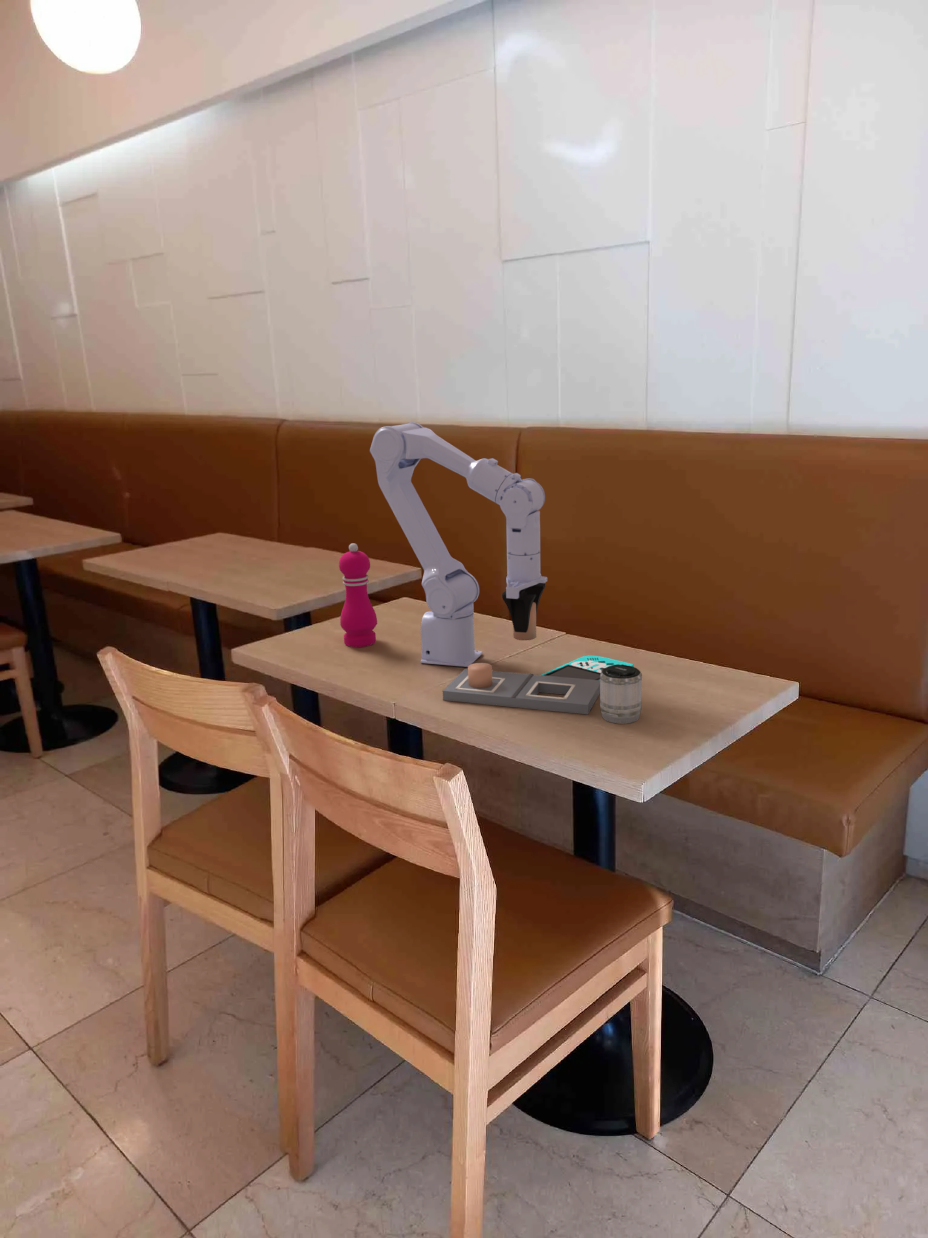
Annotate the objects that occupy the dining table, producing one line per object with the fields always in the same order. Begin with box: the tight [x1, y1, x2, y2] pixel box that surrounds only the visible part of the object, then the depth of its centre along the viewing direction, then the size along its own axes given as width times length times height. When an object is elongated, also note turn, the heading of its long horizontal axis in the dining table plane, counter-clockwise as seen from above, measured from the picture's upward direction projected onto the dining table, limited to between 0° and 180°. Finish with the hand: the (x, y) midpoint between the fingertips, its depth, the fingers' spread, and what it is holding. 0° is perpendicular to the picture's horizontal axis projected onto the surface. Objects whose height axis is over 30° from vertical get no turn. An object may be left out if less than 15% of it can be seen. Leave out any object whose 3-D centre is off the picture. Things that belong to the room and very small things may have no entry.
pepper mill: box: [338, 542, 378, 648], centre depth 176 cm, size 7×7×20 cm
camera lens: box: [599, 664, 643, 725], centre depth 138 cm, size 6×6×8 cm
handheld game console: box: [541, 655, 635, 680], centre depth 157 cm, size 10×16×1 cm, turn 137°
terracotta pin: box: [512, 602, 537, 641], centre depth 158 cm, size 4×4×6 cm
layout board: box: [442, 662, 600, 715], centre depth 148 cm, size 24×11×5 cm, turn 70°
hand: (524, 627), depth 159 cm, fingers closed on terracotta pin, 4 cm apart
